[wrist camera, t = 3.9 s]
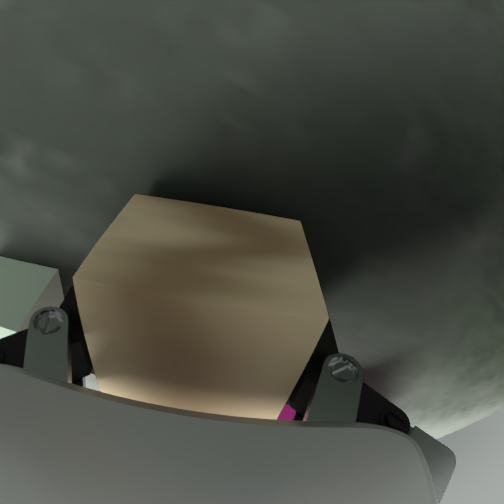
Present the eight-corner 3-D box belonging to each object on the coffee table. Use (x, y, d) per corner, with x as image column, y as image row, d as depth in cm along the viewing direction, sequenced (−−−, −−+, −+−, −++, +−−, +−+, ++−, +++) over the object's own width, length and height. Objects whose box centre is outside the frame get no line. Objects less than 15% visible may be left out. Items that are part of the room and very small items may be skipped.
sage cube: (58, 268, 13) (17, 332, 10) (72, 330, 16) (45, 392, 12) (-4, 254, 13) (-49, 306, 9) (14, 314, 15) (-18, 367, 11)
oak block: (300, 220, 11) (329, 318, 7) (264, 335, 14) (269, 431, 10) (135, 194, 11) (72, 277, 6) (136, 315, 14) (106, 406, 10)
